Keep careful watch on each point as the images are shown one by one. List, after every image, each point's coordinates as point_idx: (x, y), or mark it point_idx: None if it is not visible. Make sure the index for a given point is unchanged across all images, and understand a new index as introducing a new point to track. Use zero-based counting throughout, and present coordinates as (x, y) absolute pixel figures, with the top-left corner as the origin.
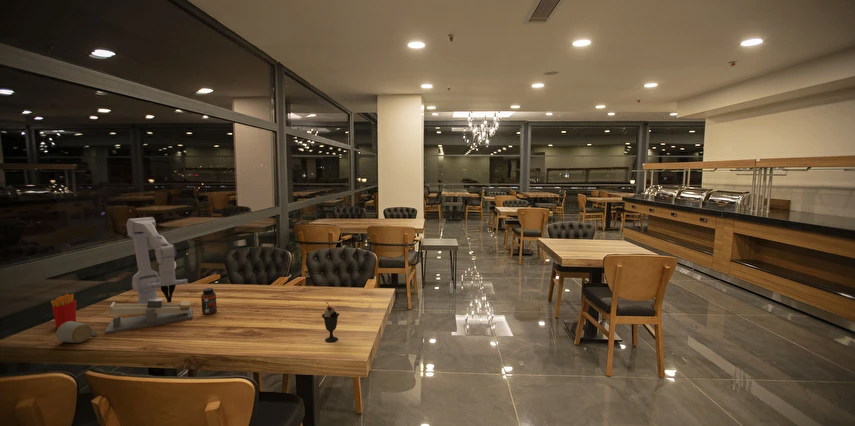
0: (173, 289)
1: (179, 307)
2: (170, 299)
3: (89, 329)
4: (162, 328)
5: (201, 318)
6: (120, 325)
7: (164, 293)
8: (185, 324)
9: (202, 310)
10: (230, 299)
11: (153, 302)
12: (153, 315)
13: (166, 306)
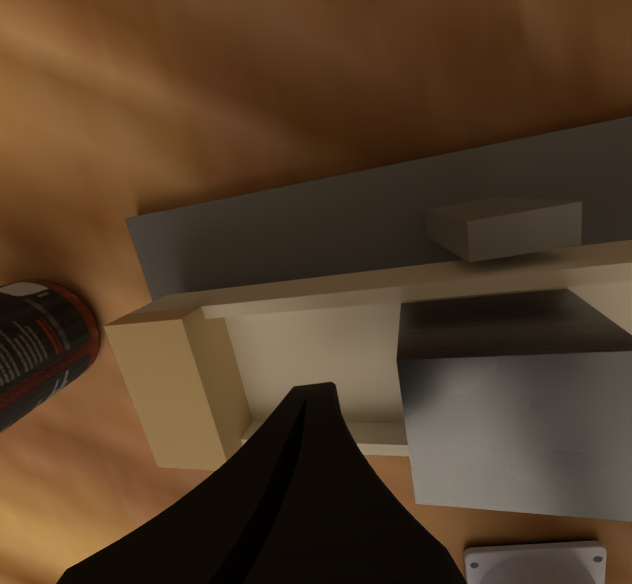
0: (106, 559)
1: (250, 392)
2: (285, 403)
3: None
4: (330, 38)
5: (66, 203)
6: None
7: (361, 479)
8: (149, 81)
9: (66, 315)
10: (22, 547)
11: (528, 341)
12: (457, 211)
13: (368, 422)
